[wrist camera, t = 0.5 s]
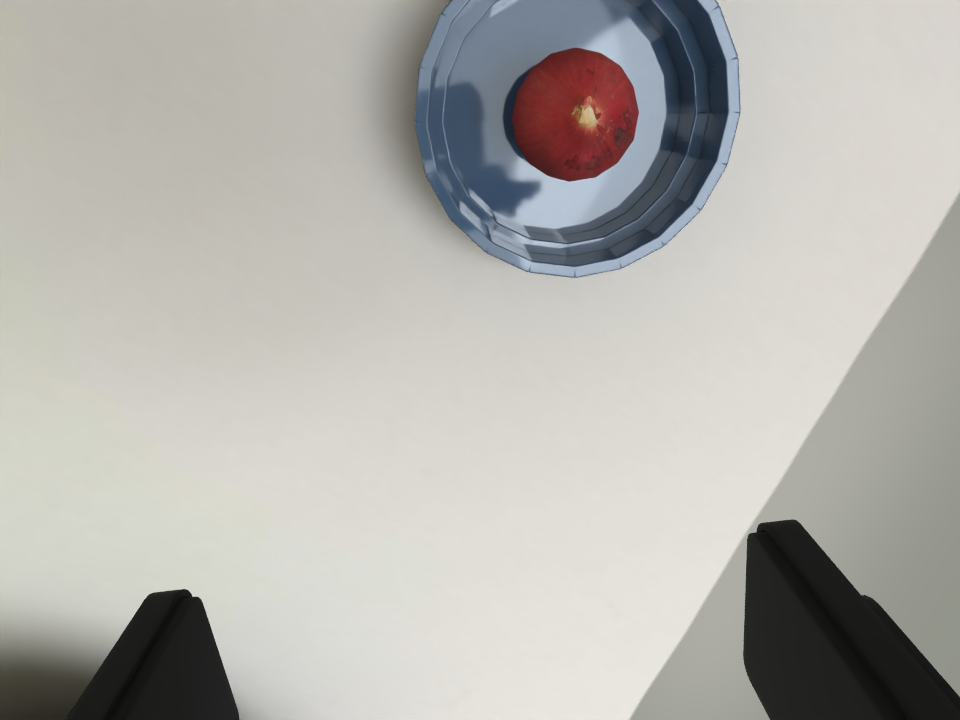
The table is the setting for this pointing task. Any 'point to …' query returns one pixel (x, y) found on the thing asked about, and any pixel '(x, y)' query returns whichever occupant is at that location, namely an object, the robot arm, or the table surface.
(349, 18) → the table surface
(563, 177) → the pomegranate
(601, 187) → the bowl
